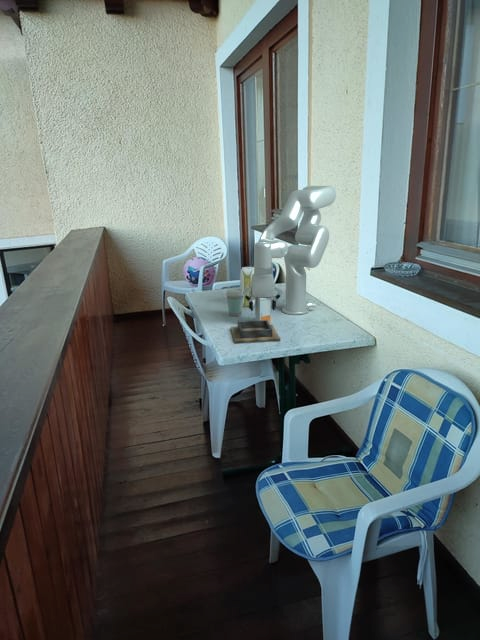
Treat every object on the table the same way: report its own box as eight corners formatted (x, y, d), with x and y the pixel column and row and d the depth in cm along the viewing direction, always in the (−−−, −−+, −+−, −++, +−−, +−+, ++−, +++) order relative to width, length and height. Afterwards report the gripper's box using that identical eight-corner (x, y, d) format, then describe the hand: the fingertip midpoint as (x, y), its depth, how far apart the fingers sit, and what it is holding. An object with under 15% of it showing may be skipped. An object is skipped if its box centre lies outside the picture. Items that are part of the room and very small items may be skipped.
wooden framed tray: (272, 326, 191) (272, 317, 189) (280, 341, 173) (280, 331, 172) (230, 328, 189) (230, 320, 188) (234, 343, 172) (234, 333, 171)
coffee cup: (242, 318, 203) (242, 292, 200) (224, 317, 205) (223, 292, 201) (246, 312, 211) (245, 288, 208) (228, 312, 213) (228, 287, 209)
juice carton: (256, 302, 228) (255, 266, 222) (255, 307, 220) (254, 269, 214) (241, 302, 229) (241, 266, 223) (240, 307, 220) (239, 269, 215)
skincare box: (259, 325, 193) (259, 298, 189) (255, 322, 196) (254, 296, 193) (271, 323, 195) (271, 296, 192) (266, 320, 199) (266, 294, 195)
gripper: (281, 269, 193) (280, 306, 198) (241, 270, 191) (242, 308, 196) (284, 272, 186) (283, 311, 191) (243, 273, 184) (243, 312, 189)
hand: (262, 309), depth 194 cm, fingers open, 9 cm apart
